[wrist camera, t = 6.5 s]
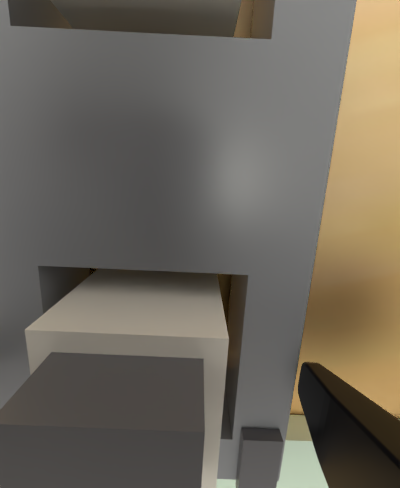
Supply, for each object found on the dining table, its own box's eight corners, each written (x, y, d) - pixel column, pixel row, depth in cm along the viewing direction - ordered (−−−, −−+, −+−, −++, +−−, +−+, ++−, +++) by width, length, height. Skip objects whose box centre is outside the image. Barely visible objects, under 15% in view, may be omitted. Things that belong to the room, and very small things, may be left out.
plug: (215, 264, 10) (241, 405, 4) (209, 356, 11) (221, 593, 5) (108, 260, 10) (-53, 393, 4) (112, 352, 11) (-9, 584, 5)
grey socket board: (335, -215, 7) (471, -619, 3) (258, 407, 11) (281, 499, 8) (-7, -235, 6) (-222, -670, 3) (60, 400, 11) (1, 489, 8)
